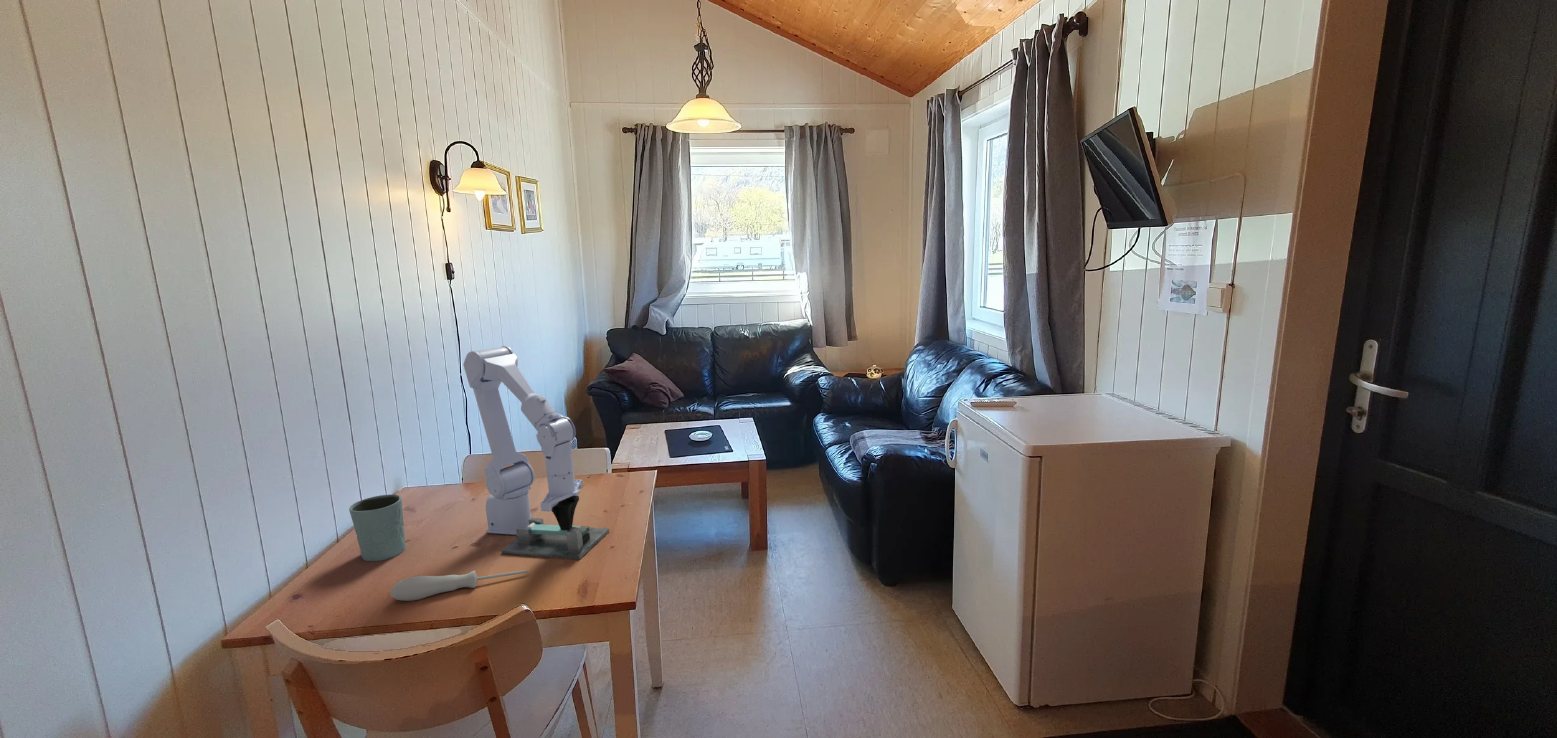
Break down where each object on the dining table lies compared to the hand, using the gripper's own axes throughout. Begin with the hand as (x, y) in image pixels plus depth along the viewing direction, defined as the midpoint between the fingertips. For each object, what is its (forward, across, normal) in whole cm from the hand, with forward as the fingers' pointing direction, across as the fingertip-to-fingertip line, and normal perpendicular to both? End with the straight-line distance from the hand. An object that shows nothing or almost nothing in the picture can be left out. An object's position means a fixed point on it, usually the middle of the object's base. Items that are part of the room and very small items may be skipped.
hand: (566, 529), depth 146 cm
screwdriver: (+4, -21, +11) cm, 24 cm away
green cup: (+3, -10, +40) cm, 42 cm away
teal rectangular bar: (+1, 0, +3) cm, 3 cm away
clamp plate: (+3, 0, +3) cm, 4 cm away
